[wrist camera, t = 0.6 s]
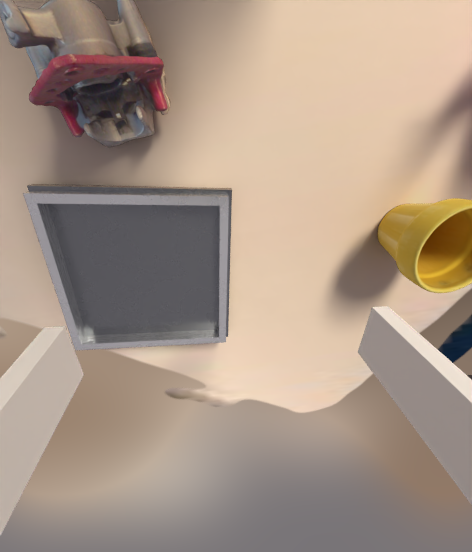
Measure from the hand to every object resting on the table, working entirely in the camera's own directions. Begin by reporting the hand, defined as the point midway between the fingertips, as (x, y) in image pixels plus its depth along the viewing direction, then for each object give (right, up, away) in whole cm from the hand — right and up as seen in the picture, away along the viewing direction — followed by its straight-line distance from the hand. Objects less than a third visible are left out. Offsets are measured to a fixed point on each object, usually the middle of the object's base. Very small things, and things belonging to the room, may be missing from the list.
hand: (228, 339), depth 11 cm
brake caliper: (-12, +22, +14) cm, 28 cm away
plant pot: (+23, +10, +24) cm, 35 cm away
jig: (-12, +3, +23) cm, 26 cm away
